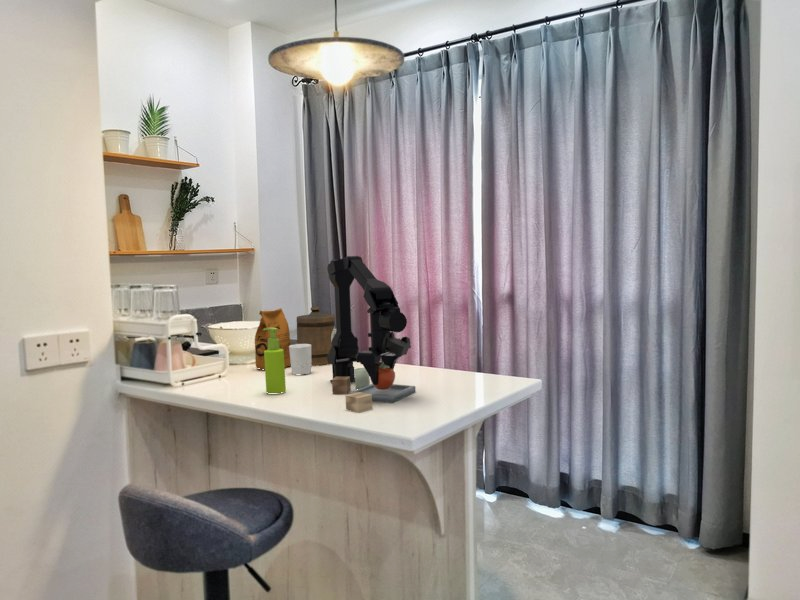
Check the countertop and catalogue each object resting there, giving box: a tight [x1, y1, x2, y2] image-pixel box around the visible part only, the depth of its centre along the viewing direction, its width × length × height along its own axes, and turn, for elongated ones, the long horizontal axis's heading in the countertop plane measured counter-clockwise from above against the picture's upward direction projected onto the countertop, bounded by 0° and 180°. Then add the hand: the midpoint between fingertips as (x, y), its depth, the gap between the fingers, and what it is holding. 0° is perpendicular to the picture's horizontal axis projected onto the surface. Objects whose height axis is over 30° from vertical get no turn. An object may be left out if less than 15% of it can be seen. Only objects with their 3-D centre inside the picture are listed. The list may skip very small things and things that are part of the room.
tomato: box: [369, 360, 396, 390], centre depth 185 cm, size 7×7×8 cm
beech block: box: [344, 392, 373, 413], centre depth 170 cm, size 5×5×4 cm
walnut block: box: [331, 377, 352, 395], centre depth 191 cm, size 4×4×4 cm
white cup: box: [289, 343, 312, 375], centre depth 223 cm, size 8×8×10 cm
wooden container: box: [296, 305, 336, 367], centre depth 244 cm, size 15×15×22 cm
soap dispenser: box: [263, 327, 287, 393], centre depth 194 cm, size 6×7×20 cm
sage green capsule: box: [354, 367, 371, 390], centre depth 196 cm, size 4×4×6 cm
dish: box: [349, 383, 417, 404], centre depth 185 cm, size 14×14×2 cm
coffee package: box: [254, 308, 292, 371], centre depth 236 cm, size 10×12×22 cm
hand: (382, 382), depth 185 cm, fingers closed on tomato, 7 cm apart
